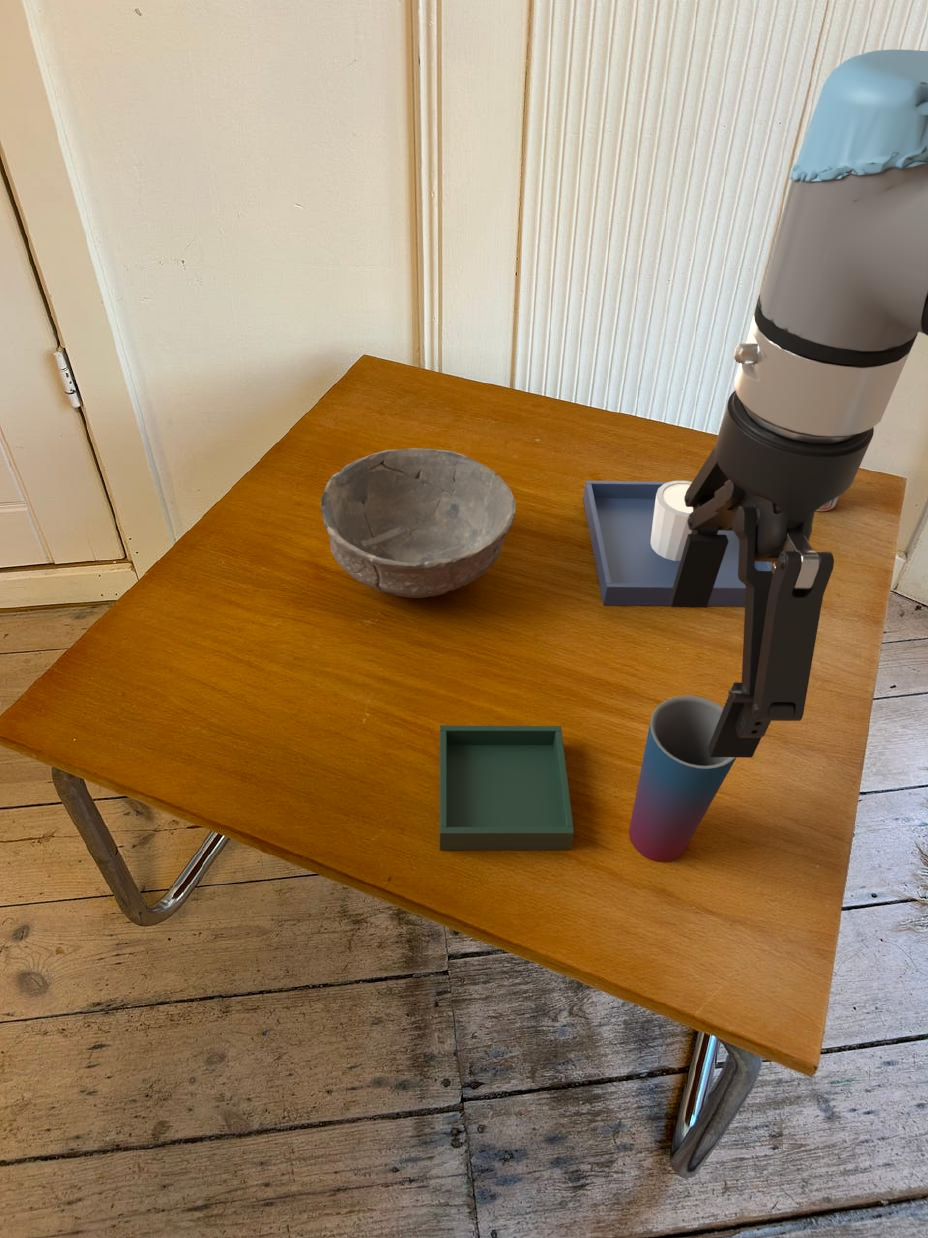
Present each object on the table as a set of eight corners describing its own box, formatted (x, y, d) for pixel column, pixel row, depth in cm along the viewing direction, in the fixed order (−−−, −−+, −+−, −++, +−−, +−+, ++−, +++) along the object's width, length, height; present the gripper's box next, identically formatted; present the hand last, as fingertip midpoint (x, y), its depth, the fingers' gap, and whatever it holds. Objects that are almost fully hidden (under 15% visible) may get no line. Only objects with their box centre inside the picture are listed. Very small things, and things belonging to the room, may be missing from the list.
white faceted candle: (704, 568, 99) (719, 520, 94) (644, 560, 99) (656, 512, 94) (702, 530, 104) (716, 483, 99) (645, 523, 104) (656, 476, 99)
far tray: (775, 606, 95) (782, 588, 93) (603, 605, 95) (606, 586, 93) (733, 500, 109) (739, 482, 107) (583, 498, 108) (585, 480, 106)
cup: (708, 824, 76) (754, 719, 65) (681, 886, 71) (725, 783, 61) (636, 790, 78) (669, 682, 67) (606, 847, 74) (636, 742, 63)
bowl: (536, 543, 102) (544, 474, 95) (463, 659, 89) (466, 589, 81) (382, 495, 108) (379, 426, 100) (291, 597, 94) (280, 526, 87)
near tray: (570, 850, 74) (574, 833, 72) (439, 850, 73) (439, 833, 71) (558, 743, 81) (561, 725, 79) (439, 743, 81) (439, 725, 79)
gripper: (685, 296, 53) (627, 553, 69) (801, 565, 36) (689, 830, 51) (803, 299, 54) (720, 554, 69) (977, 567, 36) (813, 831, 51)
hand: (707, 672), depth 60 cm, fingers open, 13 cm apart
